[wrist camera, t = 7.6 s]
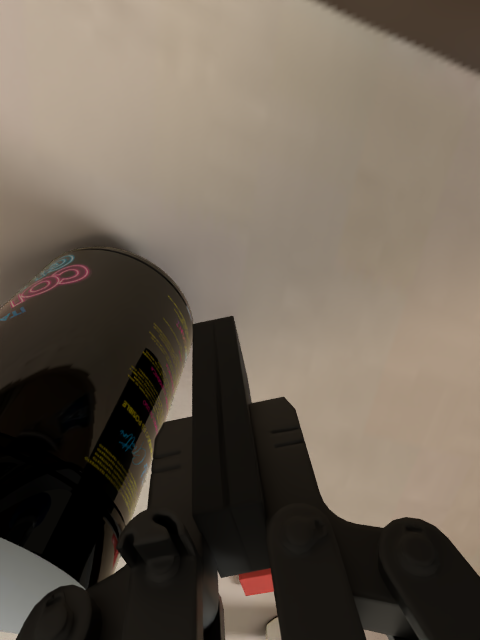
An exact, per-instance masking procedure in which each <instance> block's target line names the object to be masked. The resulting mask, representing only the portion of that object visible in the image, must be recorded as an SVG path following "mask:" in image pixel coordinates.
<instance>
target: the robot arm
mask: <svg viewBox="0 0 480 640" xmlns="http://www.w3.org/2000/svg"><path fill="white" fill-rule="evenodd" d="M151 471H152V474H151V479H150V488H149V498H148V508H147V510H145V511H143V512H141V513H139V514H138V515H137V516H136V517H134V518H133V519H132V520H130V521H129V523H128V524H127V525H126V527H125V528H124V530H123V531H122V532H121V534H120V537H119V540H118V542H117V545H116V549H117V551H118V552H119V553H120V555H121V556H122V558H123V559H124V560H125V562H126V563H127V564H126V565H125V566H124V567H123V568H121V569H120V570H118V571H117V572H116V573H114V574H112V575H110V576H109V577H107V578H105V579H103V580H102V581H100V582H98V583H96V584H95V585H93V586H91V587H89V588H88V589H86V590H84V589H83V588H81V587H78V586H76V585H66V586H60V587H58V588H56V589H55V590H53V591H51V592H49V593H47V594H46V595H45V596H44V597H43V598H42V599H41V600H40V601H39V602H38V603H37V604H36V605H35V606H34V608H33V609H32V611H31V612H30V614H29V615H28V617H27V619H26V620H25V622H24V624H23V626H22V628H21V630H20V632H19V634H18V636H17V638H16V640H225V628H224V609H223V605H222V600H221V597H220V595H219V593H218V573H217V570H218V572H219V574H220V577H221V578H223V577H228V576H233V575H238V574H244V573H249V572H254V571H259V570H264V569H269V568H270V569H271V575H272V582H273V588H274V595H275V601H276V608H277V614H278V621H279V627H280V634H281V640H366V637H365V633H364V630H363V629H365V630H369V631H373V632H378V633H382V634H386V635H387V637H388V639H389V640H480V577H479V576H478V574H477V573H476V572H475V571H474V569H473V568H472V567H471V566H470V564H469V563H468V562H467V561H466V560H465V558H464V557H463V556H462V555H461V553H460V552H459V551H458V550H457V549H456V547H455V546H454V545H453V544H452V542H451V541H450V540H449V539H448V538H447V537H446V536H445V535H444V534H443V533H442V532H441V531H440V530H439V529H438V528H437V527H435V526H434V525H432V524H430V523H427V522H425V521H423V520H421V519H416V518H408V517H405V518H401V519H396V520H393V521H392V522H390V523H389V524H388V525H387V526H386V527H384V528H380V527H373V526H367V525H360V524H355V523H351V522H348V521H346V520H344V519H342V518H340V517H338V516H337V515H335V514H334V513H333V512H332V511H331V510H329V508H328V507H327V506H326V504H325V503H324V502H323V499H322V497H321V495H320V492H319V489H318V485H317V482H316V478H315V475H314V472H313V468H312V465H311V461H310V458H309V454H308V451H307V448H306V444H305V441H304V437H303V434H302V430H301V428H300V424H299V420H298V417H297V413H296V410H295V408H294V407H293V406H292V405H291V404H290V403H289V402H288V401H287V400H286V399H285V398H284V397H280V398H275V399H270V400H265V401H261V402H256V403H252V402H251V396H250V390H249V384H248V378H247V373H246V369H245V365H244V360H243V356H242V352H241V347H240V343H239V339H238V334H237V330H236V326H235V321H234V317H233V316H230V317H225V318H220V319H215V320H210V321H206V322H201V323H196V324H193V360H192V417H187V418H182V419H178V420H173V421H168V422H163V424H162V426H161V428H160V430H159V432H158V434H157V435H156V437H155V440H154V450H153V460H152V469H151Z"/></svg>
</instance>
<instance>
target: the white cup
mask: <svg viewBox="0 0 480 640" xmlns="http://www.w3.org/2000/svg"><path fill="white" fill-rule="evenodd" d="M266 640H281V634H280V627H279V621H278V617H277V618H275V619H273V620H272V621H271V622H270V623H268V624H267V627H266Z"/></svg>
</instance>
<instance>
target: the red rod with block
mask: <svg viewBox="0 0 480 640" xmlns="http://www.w3.org/2000/svg"><path fill="white" fill-rule="evenodd" d="M239 580H240V583H241V585H242V588H243V590H244V592H245V595H246V596H249V595H255V594H261V593H267V592H273V591H274V588H273V582H272V575H271V569H270V568H269V569H264V570H259V571H254V572H249V573H244V574H239Z"/></svg>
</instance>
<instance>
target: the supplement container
mask: <svg viewBox="0 0 480 640" xmlns="http://www.w3.org/2000/svg"><path fill="white" fill-rule="evenodd" d="M192 342H193V318H192V314H191V310H190V307H189V305H188V302H187V300H186V298H185V296H184V294H183V293H182V291H181V290H180V288H179V287H178V286H177V284H176V283H175V282H174V281H173V280H172V279H171V278H170V277H169V276H168V275H167V274H166V273H165V272H164V271H163V270H162V269H160V268H159V267H157V266H156V265H155V264H153V263H152V262H150V261H148V260H147V259H145V258H143V257H141V256H139V255H136V254H134V253H131V252H128V251H125V250H122V249H117V248H112V247H85V248H80V249H75V250H72V251H69V252H66V253H64V254H62V255H60V256H59V257H57V258H55V259H54V260H53V261H52V262H51V263H50V264H49V265H47V266H46V267H45V268H44V269H43V270H42V271H41V272H40V273H39V274H38V275H37V276H36V277H34V278H33V279H32V280H31V281H30V282H29V283H28V284H27V285H26V286H25V287H24V288H23V289H21V290H20V291H19V292H18V293H17V294H16V295H15V296H14V297H13V298H12V299H11V300H9V301H8V302H7V303H6V304H5V305H4V306H3V307H2V308H1V309H0V631H2V632H8V633H15V634H19V632H20V630H21V628H22V626H23V624H24V622H25V620H26V619H27V617H28V615H29V614H30V612H31V611H32V609H33V608H34V606H35V605H36V604H37V603H38V602H39V601H40V600H41V599H42V598H43V597H44V596H45V595H46V594H47V593H49V592H51V591H53V590H55V589H56V588H58V587H60V586H66V585H76V586H78V587H81V588H83V589H84V590H86V589H88V588H89V587H91V586H93V585H95V584H96V583H98V582H100V581H102V580H103V579H105V578H107V577H109V576H110V575H112V574H114V573H115V570H116V567H117V564H118V561H119V558H120V557H121V555H120V553H119V552H118V551H117V549H116V545H117V542H118V540H119V537H120V534H121V532H122V531H123V530H124V528H125V527H126V525H127V524H128V523H129V521H130V520H131V519H132V517H133V514H134V511H135V508H136V505H137V502H138V499H139V496H140V493H141V490H142V488H143V485H144V482H145V479H146V476H147V473H148V470H149V467H150V464H151V461H152V458H153V450H154V440H155V437H156V435H157V434H158V432H159V430H160V428H161V426H162V424H163V422H165V421H166V418H167V415H168V412H169V409H170V406H171V403H172V400H173V398H174V395H175V392H176V389H177V386H178V383H179V380H180V377H181V374H182V371H183V368H184V366H185V363H186V360H187V357H188V354H189V351H190V348H191V345H192Z"/></svg>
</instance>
